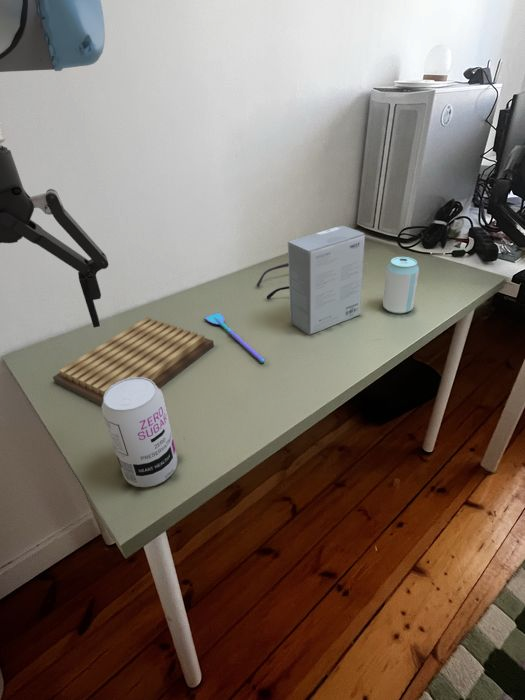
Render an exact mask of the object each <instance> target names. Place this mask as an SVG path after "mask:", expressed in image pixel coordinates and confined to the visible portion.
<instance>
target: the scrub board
mask: <svg viewBox="0 0 525 700" xmlns="http://www.w3.org/2000/svg"><path fill="white" fill-rule="evenodd" d="M214 347H215V345H214V340H212V339H209V338H206V337H205V334H201V333H199V334H198V332H195V331H193V332H191V330H190V329H185V330H184V328H183V327H178V326H177V325H175V324H170V323H167V322H166V323H165V322H164V321H161V320H158V319H156V318H153V319H152V317H148V316H147V317H145V318H144V319H142V320H140V321H138V322H137V323H135V324H133V325H132V326H131V327H128V328H127V329H125V330H124V331H122V332H120V333H118V334H117V335H115V336H113V337H112V338H110V339H108V340H107V341H105V342H103V343H102V344H101V345H99V346H97V347H96V348H94V349H92V350H90V351H89V352H87V353H85V354H83V355H82V356H80V357H79V358H77V359H76V360H74V361H72V362H70V363H68V364H67V365H66V366H63V367H62V368H60V369H59V373H57V374H55V375H53V376H52V379H53V381H54V384H56V385H58V386H61V387H62V388H65V389H66V390H69V391H71V392H73V393H75V394H77V395H78V396H80V397H82V398H84V399H87V400H88V401H91V402H93V403H95V404H97V405H99V406H101V407H102V404H103V401H104V398H103V397H104V395H105V392H106V391H107V390H108V389H109V388H110V387H111V386H112V385H114V384H115V383H117V382H119V381H121V380H124V379H127V378H133V377H144V378H147V379H150V380H151V381H153V382H154V383H155V385H156V386H157V387H158V388H159V389H160V390H161V388H163V386H165V385H166V384H167V383H169V382H170V381H172V380H173V379H174V378H175V377H176V376H178V375H179V374H180V373H181V372H184V370H185V369H187V368H188V367H190V366H191V365H192V364H193V363H195V362H196V361H197V360H198V359H200V358H202V357H203V356H204V355H205V354H206V353H208V352H209V351H210V350H212V349H213V348H214Z"/></svg>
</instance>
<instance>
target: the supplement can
mask: <svg viewBox="0 0 525 700" xmlns="http://www.w3.org/2000/svg"><path fill="white" fill-rule="evenodd" d="M103 398H104V401H103V404H102V406H101V412H102V417H103V420H104V423H105V425H106V428H107V431H108V434H109V436H110V440H111V443H112V446H113V449H114V451H115V455H116V459H117V461H118V464H119V467H120V469H121V472H122V475H123V478H124V479H125V480H126V482H127V483H128V484H130V485H132V486H134V487H137V488H139V487H140V488H149V487H150V488H151V487H155V486H157V485H159V484H162V483H163V482H165V481H166V480H168V479H169V478H170V477H171V476H172V475H173V473H174V472H175V470H176V469H177V467H178V455H177V451H176V447H175V446H176V445H175V442H174V438H173V433H172V429H171V425H170V420H169V415H168V411H167V408H166V402H165V398H164V395H163V392H162V389H161V388H160V389H159V388H158V387H157V386H156V385H155V383H154V382H153V381H151V380H150V379H147V378H144V377H133V378H127V379H124V380H121V381H119V382H117V383H115V384H114V385H112V386H111V387H110V388H109V389H108V390H107V391H106V392H105V395H104V397H103Z"/></svg>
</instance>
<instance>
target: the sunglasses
mask: <svg viewBox="0 0 525 700" xmlns="http://www.w3.org/2000/svg"><path fill="white" fill-rule="evenodd" d="M283 268H289V263H288V262H287V263H283V264H279V265H276V266H273V267H270V268H269V269H267V270H265V271H264V272H263V273H262V274H261V276H260V278H259V279H258V281H257V283H256V286H258V287H260V285H261V283H262V281H263V279H264V277H265V275H267V273H269V272H273V271H275V270H278V269H283ZM283 290H289V285H288V286H283V287H278V288H276V289H274V290H273V291H272V292H270V293H269V294H267V296H266V299H267V300H270V299H271V298H272V297H273V296H274V295H275V294H276V293H278V292H279V291H283Z"/></svg>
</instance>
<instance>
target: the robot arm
mask: <svg viewBox="0 0 525 700" xmlns="http://www.w3.org/2000/svg"><path fill="white" fill-rule="evenodd" d="M104 17H105V16H104V12H103V6H102V0H0V73H6V72H9V73H11V72H29V71H30V72H31V71H32V72H33V71H51V70H52V71H53V70H54V71H55V72H61V71H63V69H69V68H78V67H86V66H91V65H94V64H96V63H97V62H98V61H99V60H100V57H101V56H102V54H103V52H104V47H105V39H106V34H105V33H106V31H105V30H106V29H105V18H104ZM6 139H7V136H6V133H5V131H4V127H3V125H2V122H1V121H0V244H15V243H18V242H19V241H20V240H22V239H23V238H24V239H26V240H28V241H29V242H30V243H32V244H34V245H37V246H39V247H40V248H41V249H43V250H45V251H46V252H48V253H49V254H51V255H52V256H54V257H56V258H57V259H59V260H60V261H62V262H63V263H65V264H66V265H68V266H70V267H71V268H72V269H74V270H75V271H77V274H78V281H79V285H80V287H81V291H82V294H83V297H84V301H85V304H86V307H87V310H88V314H89V317H90V320H91V324H92V326H93V328H98V327H101V324H100V319H99V315H98V312H97V308H96V305H95V300H100V299H101V297H102V292H101V288H100V285H99V282H98V278H97V273H98V272H100V271H101V270H107V268H108V267H109V261H108V257H107V255H106V254H105V253H104V251H103V250H102V249H101V248H100V247H99V246H98V245H97V243H95V241H94V240H93V239H92V238H91V236H89V235H88V234H87V231H85V230H84V229H83V228H82V226H80V224H79V223H78V222H77V221H76V220H75V219H74V218H73V217H72V215H71V214H70V213H69V212H68V211H67V210H66V209H65V208H64V205H63V203H62V200H61V198H60V196H59V194H58V192H57V190H55V189H53V188H49V189H47V190H46V192H45V193H41V194H37V195H32V196H30V195H29V193H27V192H26V190H25V188H24V186H23V183H22V180H21V177H20V174H19V171H18V168H17V165H16V163H15V159H14V157H13V154H12V151H11V150H10V149H8V147H6V146H4V145H3V144H2V143H4V142H5V140H6ZM35 209H40V210H41V211H42V212H43V213H44V214H45V215H48V216H51V215H52V216H53V217H54V220H55V221H56V222H57V223H58V225H59V226H60V227H61V228H62V229H63V230H64V231H65V232H66V233H67V234H68V235H69V236H70V238H72V239H73V241H74V242H75V243H76V244H77V245H78V247H80V249H81V250H82V251H83V252H85V254H86V255H87V256H88V257H89V258H90V259H88V258H86V257H85V256H83V255H82V254H80V253H79V252H77V251H76V250H74V248H73V249H72V248H71V247H70V246H68V245H67V244H65V243H64V242H62V241H61V240H60V239H58V238H57V237H55V236H54V235H53V234H51V233H50V232H48V231H46V230H45V229H44V228H43V227H42V226H41V225H39V224H38V223H36V222H35V221H34V220H32V216H33V213H34V211H35Z"/></svg>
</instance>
